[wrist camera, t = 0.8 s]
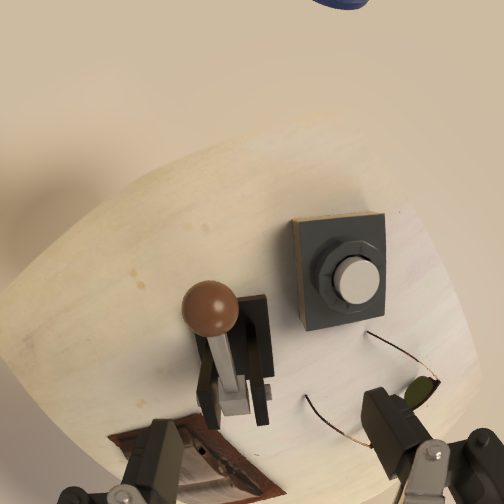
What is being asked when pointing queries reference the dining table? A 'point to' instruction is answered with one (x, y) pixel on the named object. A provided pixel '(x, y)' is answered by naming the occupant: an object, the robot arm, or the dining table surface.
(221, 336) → the flush lever
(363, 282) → the white push button
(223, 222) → the dining table surface
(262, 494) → the book
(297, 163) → the dining table surface
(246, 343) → the lever bracket
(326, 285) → the button housing
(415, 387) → the sunglasses
